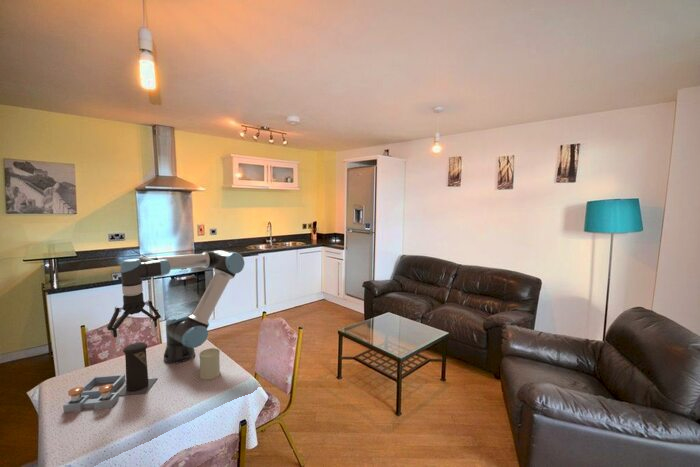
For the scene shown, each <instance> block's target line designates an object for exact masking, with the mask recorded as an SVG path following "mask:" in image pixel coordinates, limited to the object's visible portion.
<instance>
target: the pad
mask: <svg viewBox="0 0 700 467" xmlns="http://www.w3.org/2000/svg"><path fill="white" fill-rule="evenodd" d="M157 380H158V378H157V377H155V378H148V386H146V387H145V388H143V389H141V390H138V391H127V389H126V384H125V385H124V386H123V387H122V389H120V390H119V392H118V395H119V397H126V396H127V397H129V396H139V395H146V394H148V392H149V391H150V389H151V388H152V387H153V386H154V384H155V383H156V382H157Z"/></svg>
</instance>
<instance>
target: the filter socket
mask: <svg viewBox="0 0 700 467" xmlns="http://www.w3.org/2000/svg"><path fill="white" fill-rule="evenodd" d="M124 382H126V373H124V374H122V373H121V374H113V375H112V374H110V375H98V376H97V375H96V376H93V377H92V378H90V380H88V382H86V383H85V384H84V385H83V386H82V387H83V388H84V391H83V392H82V393H81V396H84V395H89V397H90V399H97V398H99V397H100V396H101V393H99V389H94V390H93V389H92V390H91V388H93V387H94V386H95V385H97V384H107V383H108V384H110V383H113V384H112V385H113V389H112V390H111V393H116V391H117V390H118V389H119V388H120V387H121V385H122V384H123V383H124Z"/></svg>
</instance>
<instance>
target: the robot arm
mask: <svg viewBox="0 0 700 467" xmlns="http://www.w3.org/2000/svg"><path fill="white" fill-rule="evenodd" d="M193 268H203V269H213V272H214V274H213V277H212V278H211V279H210V280H211V281H210V282H209V284H208V285H207V288H206V289H205V291H204V292H203V295H201V296H202V297H201V298H200V300H199V302H198V303H197V306H196V307H195V309H194V311H193V313H192V314H191V315H190V314H187V313H186V314H185V313H182V314H176V315H173V316H170V317H168V318H167V319H166V320H165V335H166V336H165V338H166V347H165V350H164V353H163V361H164V362H165V363H166V364H179V363H183V362H185V361H188V360H191V359H192V358H193V357H194V356H195V354H196V353H195V352H196V350H195V348H198V347H200V346H202V345H203V344H204V343H205V342H206V341H207V339H208V336H209V331H208V328H209V326H210V323H209V320H210V318H211V316H212V314H213V312H214V310H215V308H216V306H217V304H218V303H219V301H220V299H221V296H222V295H223V294H224V292H225V289H226V287H227V285H228V284H229V282H230V280H233V279H235V277H236V274H239V273H241V272H242V271H243V270H244V268H245V259H244V257H243V255H242V254H240V253H238V252H236V251H229V250H226V249H225V250H224V249H219V250H217V249H216V250H211V251H210V250H209V251H203V252H202V253H193V254H179V255H178V254H177V255H164V256H163V255H162V256H149V257H146V256H137V257H136V258H130V259H124V260H122V261H121V262H120V276H121V277H120V278H121V289H122V302H123V305H122V306H114V312H113V314H112V317H111V318H110V320H109V323H108V324H107V327H106V329H107V330H108V331H112V336H113V338H116V344H117V345H118V346H119V345H121V340H120V339H121V338H120V329H119V328H120V326H121V325H122V323H123V322H124V321H125V320H126V318H128V316H129V315H131V316H132V315H135V314H139V313H143V314H144V315H146V316H147V317H149V318H150V319H151V320H150V327H151V334H152V335H153V336H155V335H156V329H155V328H156V327H158V323H157V321H158V320H159V319H161V318H162V316H161V314H160V313H159V312H158V311H157V309H156V308H155V306H154V305H153V302H152V300H150V299H148V300H147V301H144V293H143V291H144V289H143V279H149V278H154V277H160V276H161V277H162V276H165V275H169V273H170V272H171V271H172V270H174V271H175V270H184V269H185V270H186V269H193ZM145 306H146V307H147V306H148V307H149V309H150V310H151V311H152V312H153V314H154V315H155V316H154V315H153V314H151V313H150V312H149V311H147V310H146V309H145V308H144V307H145ZM122 310H123V311H124V312H123V313H122ZM120 313H122V315H121V316H120V317H119V319H118V316H119V314H120ZM117 319H118V320H117ZM116 320H117V321H116Z"/></svg>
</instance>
